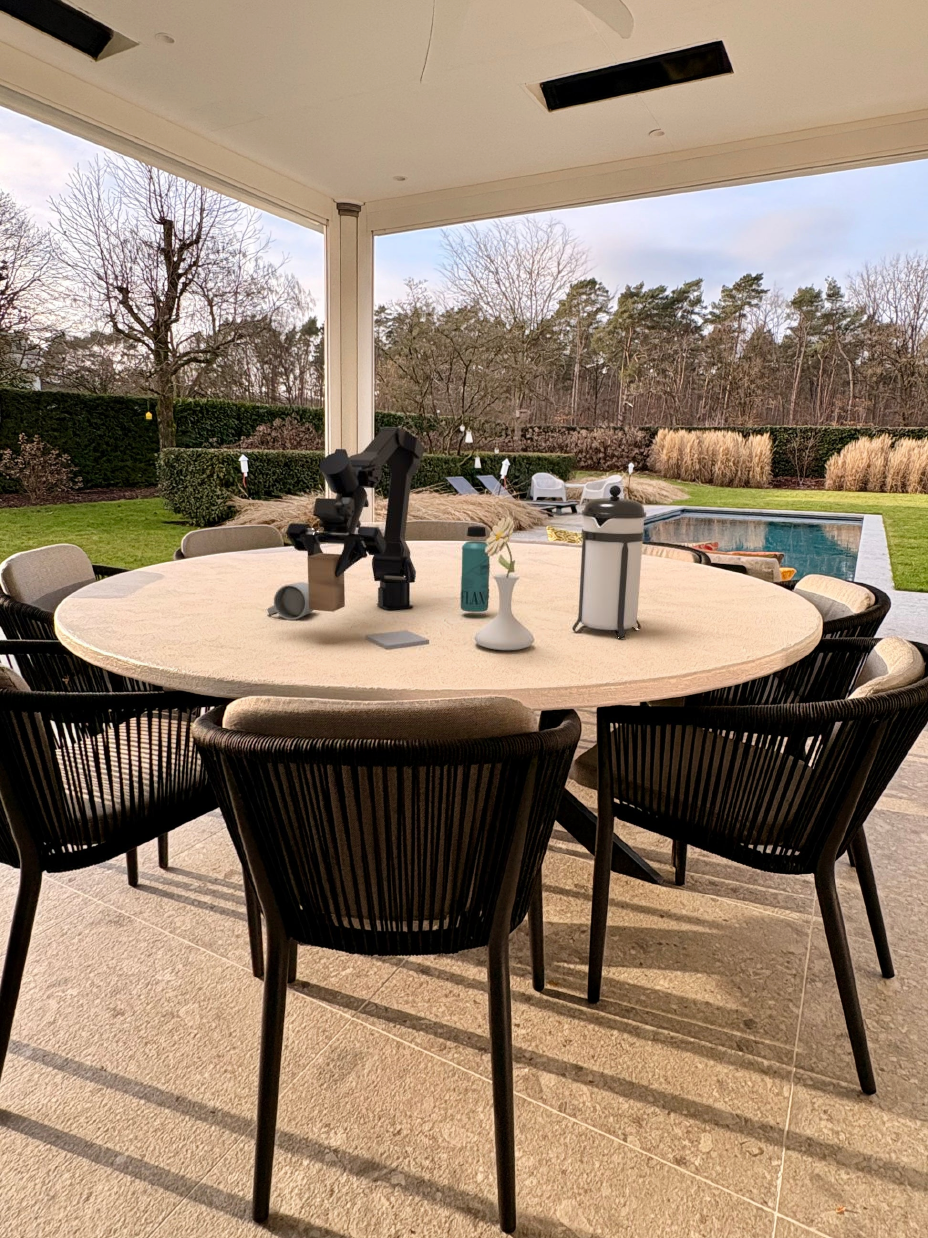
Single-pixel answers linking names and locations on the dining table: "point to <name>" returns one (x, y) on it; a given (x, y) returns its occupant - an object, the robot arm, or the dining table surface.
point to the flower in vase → (503, 599)
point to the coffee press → (610, 563)
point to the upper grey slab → (397, 639)
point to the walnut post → (325, 583)
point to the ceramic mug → (291, 601)
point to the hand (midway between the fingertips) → (323, 574)
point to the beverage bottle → (475, 573)
